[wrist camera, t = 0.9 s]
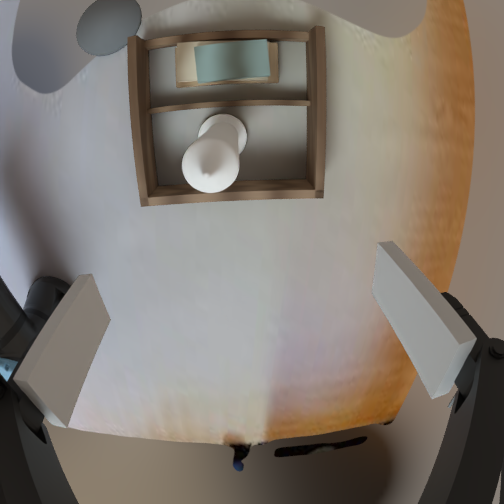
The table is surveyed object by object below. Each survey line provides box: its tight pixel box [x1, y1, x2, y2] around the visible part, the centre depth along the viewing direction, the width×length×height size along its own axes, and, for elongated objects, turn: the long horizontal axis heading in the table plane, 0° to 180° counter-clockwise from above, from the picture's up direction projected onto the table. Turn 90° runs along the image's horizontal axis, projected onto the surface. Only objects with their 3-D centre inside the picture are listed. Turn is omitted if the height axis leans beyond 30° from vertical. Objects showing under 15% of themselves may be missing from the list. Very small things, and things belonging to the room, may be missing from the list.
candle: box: [182, 114, 247, 193], centre depth 31 cm, size 7×7×25 cm
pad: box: [76, 0, 142, 56], centre depth 31 cm, size 11×11×1 cm
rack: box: [127, 26, 326, 207], centre depth 37 cm, size 25×24×6 cm
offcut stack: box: [175, 39, 279, 88], centre depth 34 cm, size 14×6×6 cm, turn 91°
